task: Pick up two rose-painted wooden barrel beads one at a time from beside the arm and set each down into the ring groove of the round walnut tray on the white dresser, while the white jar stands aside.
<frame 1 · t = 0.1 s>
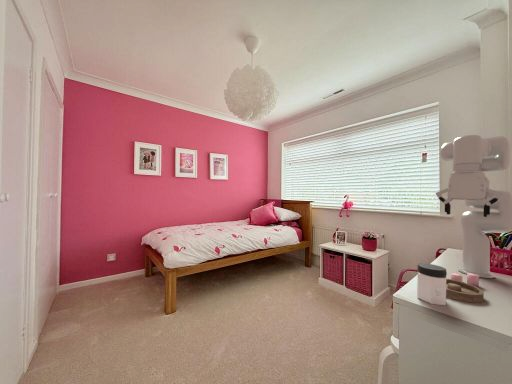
hand: (466, 215, 77), 31 cm above the table, tool pointing down, fingers open, 9 cm apart
bead b: (456, 285, 90), on the table
tray: (454, 292, 83), on the table
jar: (430, 300, 76), on the table
bead a: (472, 285, 91), on the table
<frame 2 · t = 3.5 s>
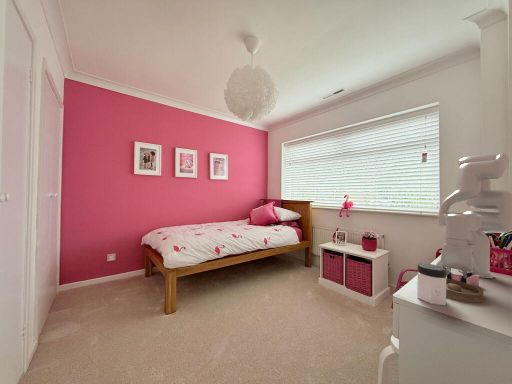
hand: (456, 284, 90), 0 cm above the table, tool pointing down, fingers closed on bead b, 3 cm apart
bead b: (456, 285, 90), on the table, touching gripper
everything else where it was.
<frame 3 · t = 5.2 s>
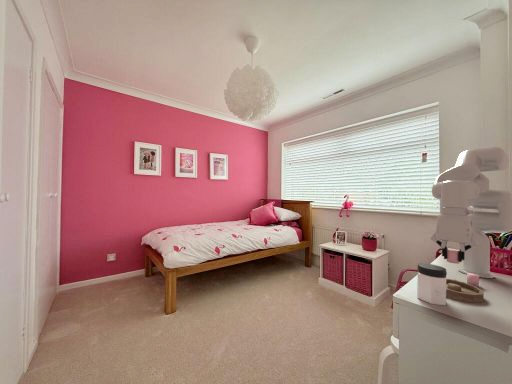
hand: (452, 259, 80), 14 cm above the table, tool pointing down, fingers closed on bead b, 3 cm apart
bead b: (452, 262, 80), point 13 cm above the table, touching gripper
everything else where it was.
when the fingers open (3 cm above the table, at t = 7.4 s): bead b stays where it is, resting on tray.
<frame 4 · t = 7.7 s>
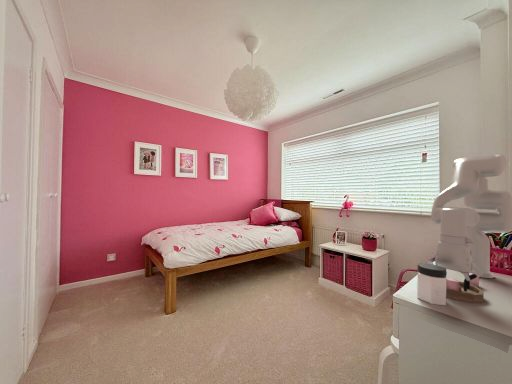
hand: (452, 286, 80), 3 cm above the table, tool pointing down, fingers open, 6 cm apart
bead b: (452, 292, 80), point 1 cm above the table, touching tray
everything else where it was.
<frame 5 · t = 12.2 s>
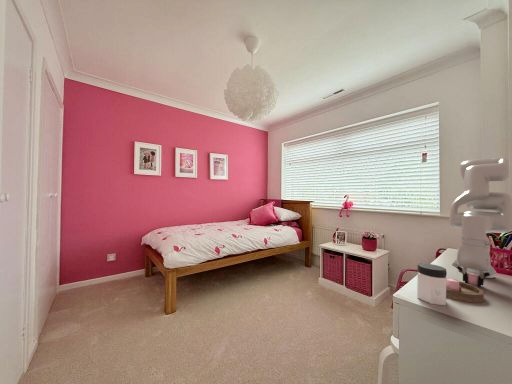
hand: (472, 284, 91), 0 cm above the table, tool pointing down, fingers closed on bead a, 3 cm apart
bead a: (472, 285, 91), on the table, touching gripper
everything else where it was.
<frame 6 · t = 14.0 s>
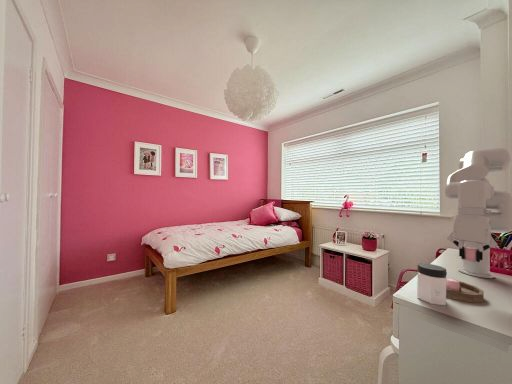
hand: (470, 259, 80), 14 cm above the table, tool pointing down, fingers closed on bead a, 3 cm apart
bead a: (470, 260, 80), point 14 cm above the table, touching gripper
everything else where it was.
when the fingers open (3 cm above the table, at t = 16.3 s): bead a drops 2 cm, resting on tray.
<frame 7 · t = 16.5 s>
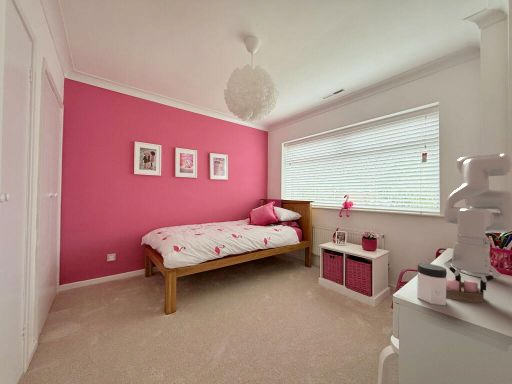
hand: (470, 288, 79), 3 cm above the table, tool pointing down, fingers open, 5 cm apart
bead a: (470, 293, 79), point 1 cm above the table, touching tray
everything else where it was.
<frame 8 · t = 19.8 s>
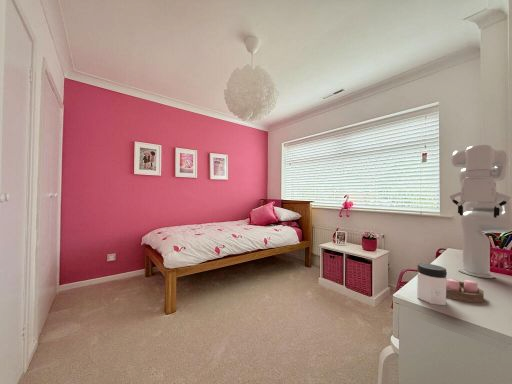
hand: (477, 216, 87), 30 cm above the table, tool pointing down, fingers open, 9 cm apart
nothing on the table moved.
at the end: bead b 0.0 cm from the target spot on the tray, point 1.2 cm above the tray's base; bead a 0.0 cm from the target spot on the tray, point 1.2 cm above the tray's base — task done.
